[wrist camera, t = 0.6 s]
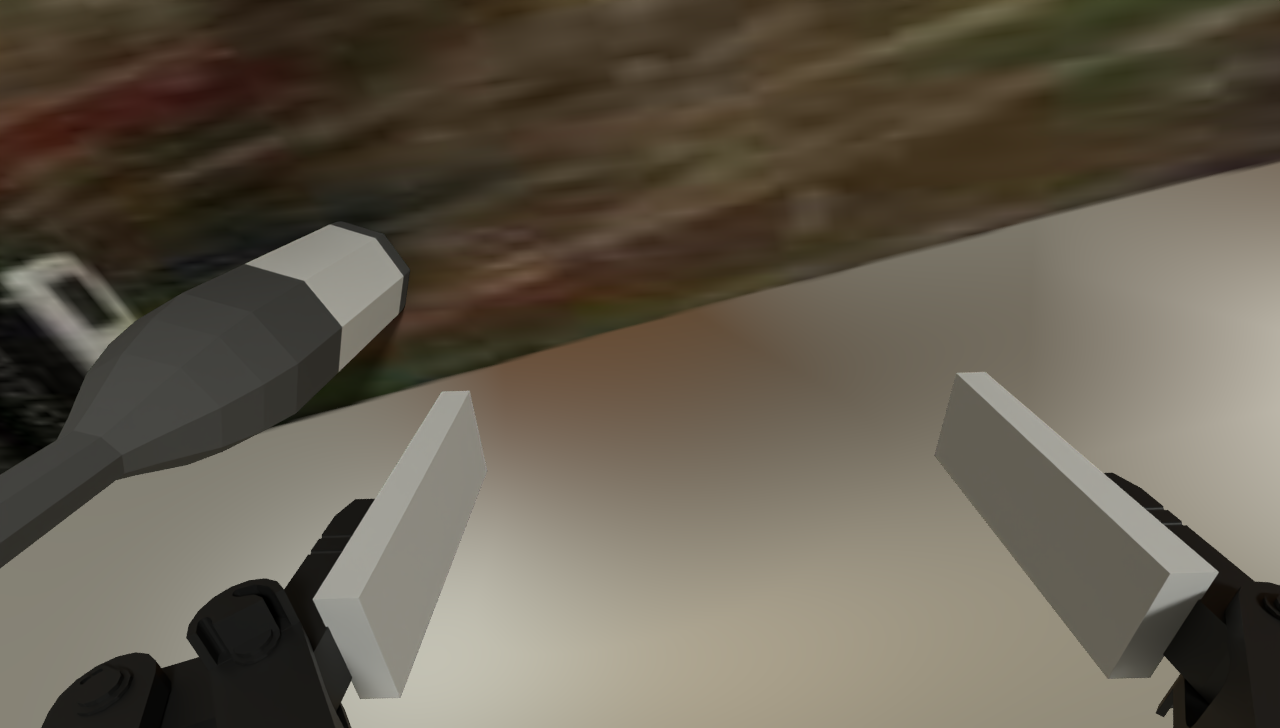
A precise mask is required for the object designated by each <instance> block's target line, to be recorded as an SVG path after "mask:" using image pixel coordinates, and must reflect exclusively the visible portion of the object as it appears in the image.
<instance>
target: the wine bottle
mask: <svg viewBox="0 0 1280 728" xmlns="http://www.w3.org/2000/svg"><path fill="white" fill-rule="evenodd" d="M409 273H410V269H409V268H408V266H407V265H406V264H405V262H404V261H403V259H402V258H401V257H400V255H399V254H398V253H397V251H396V250H395V248H394V247H393V246H392V244H391V243H390V242H389V240H388V239H387V237H386V236H385V235H384V234H382V233H379V232H376V231H372V230H369V229H366V228H363V227H359V226H356V225H353V224H349V223H346V222H343V221H339V222H335V223H332V224H330V225H328V226H326V227H323V228H321V229H319V230H317V231H315V232H313V233H311V234H308V235H306V236H304V237H302V238H300V239H298V240H295V241H293V242H291V243H289V244H287V245H285V246H282V247H280V248H278V249H276V250H274V251H272V252H270V253H267V254H265V255H263V256H261V257H259V258H257V259H254V260H252V261H250V262H248V263H246V264H244V265H241V266H239V267H237V268H235V269H233V270H231V271H229V272H226V273H224V274H222V275H220V276H218V277H216V278H213V279H211V280H209V281H207V282H205V283H203V284H200V285H198V286H196V287H194V288H192V289H190V290H187V291H185V292H183V293H181V294H180V295H178V296H176V297H175V298H173V299H171V300H170V301H168V302H166V303H165V304H163V305H161V306H160V307H158V308H156V309H155V310H153V311H151V312H150V313H148V314H146V315H145V316H143V317H141V318H140V319H138V320H136V321H135V322H134V323H133V324H132V325H130V326H129V327H128V328H127V329H126V330H125V331H124V332H123V333H121V334H120V335H119V336H118V337H117V338H116V339H115V340H114V341H112V342H111V343H110V344H109V345H108V347H107V348H106V349H105V351H104V352H103V353H102V354H101V356H100V357H99V358H98V360H97V361H96V362H95V364H94V365H93V366H92V368H91V369H90V370H89V371H88V373H87V374H86V376H85V379H84V381H83V383H82V386H81V388H80V391H79V393H78V395H77V398H76V400H75V403H74V405H73V407H72V410H71V412H70V414H69V417H68V419H67V421H66V423H65V425H64V427H63V429H62V431H61V433H60V435H59V437H58V439H57V440H56V441H54V442H53V443H51V444H49V445H48V446H46V447H45V448H43V449H41V450H40V451H38V452H36V453H35V454H33V455H32V456H30V457H28V458H27V459H25V460H23V461H22V462H20V463H19V464H17V465H15V466H14V467H12V468H10V469H9V470H7V471H6V472H4V473H2V474H1V475H0V568H1V567H3V566H4V565H5V564H6V563H8V562H9V561H10V560H12V559H13V558H14V557H16V556H17V555H18V554H20V553H21V552H22V551H23V550H25V549H26V548H28V547H29V546H30V545H31V544H33V543H34V542H35V541H37V540H38V539H39V538H41V537H42V536H43V535H45V534H46V533H47V532H48V531H50V530H51V529H52V528H54V527H55V526H56V525H58V524H59V523H60V522H62V521H63V520H64V519H66V518H67V517H68V516H69V515H71V514H72V513H73V512H75V511H76V510H77V509H79V508H80V507H81V506H83V505H84V504H85V503H87V502H88V501H89V500H90V499H92V498H93V497H94V496H95V495H97V494H98V493H99V492H101V491H102V490H104V489H105V488H106V487H108V486H109V485H110V484H111V483H113V482H114V481H115V480H118V479H122V478H126V477H130V476H134V475H139V474H144V473H149V472H154V471H159V470H164V469H169V468H174V467H179V466H183V465H188V464H191V463H194V462H196V461H199V460H202V459H204V458H207V457H209V456H212V455H215V454H217V453H220V452H223V451H225V450H227V449H229V448H231V447H232V446H235V445H236V444H239V443H241V442H243V441H244V440H247V439H248V438H250V437H252V436H254V435H256V434H258V433H260V432H262V431H264V430H266V429H268V428H270V427H272V426H274V425H275V424H277V423H279V422H281V421H283V420H285V419H286V418H288V417H290V416H292V415H294V414H296V413H297V412H298V411H299V410H300V409H301V408H302V407H303V406H304V405H305V404H306V403H307V402H308V401H309V400H310V399H311V398H312V397H313V396H314V395H315V394H316V393H317V392H319V391H320V390H321V389H322V388H323V387H324V386H325V385H326V384H327V383H328V382H329V381H330V380H331V379H332V378H333V377H334V376H335V375H336V374H337V373H338V372H339V371H340V370H341V369H342V368H343V367H344V366H345V365H346V364H347V363H348V362H350V361H351V360H352V359H353V358H354V357H355V356H356V355H357V354H358V353H359V352H360V351H361V350H362V349H363V348H364V347H365V346H366V345H367V344H368V343H369V342H370V341H371V340H372V339H373V338H374V337H375V336H376V335H377V334H378V333H379V332H381V331H382V330H383V329H384V328H385V327H386V326H387V325H388V324H389V323H390V322H391V321H392V320H393V319H394V318H395V317H396V316H397V315H398V314H399V313H400V312H401V311H402V310H403V308H404V306H405V303H406V295H407V288H408V281H409Z"/></svg>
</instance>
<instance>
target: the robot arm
mask: <svg viewBox="0 0 1280 728" xmlns="http://www.w3.org/2000/svg"><path fill="white" fill-rule="evenodd" d="M935 457H936V458H937V460H938V461H939V462H940V463H941V465H942V466H943V467H944V469H945V470H946V471H947V472H948V474H949V475H950V476H951V478H952V479H953V480H954V481H955V483H956V484H957V485H958V486H959V488H960V489H961V490H962V492H963V493H964V494H965V496H966V497H967V498H968V499H969V501H970V502H971V503H972V505H973V506H974V507H975V508H976V510H977V511H978V512H979V514H980V515H981V516H982V517H983V519H984V520H985V521H986V523H987V524H988V525H989V526H990V528H991V529H992V530H993V532H994V533H995V534H996V535H997V537H998V538H999V539H1000V540H1001V542H1002V543H1003V544H1004V546H1005V547H1006V548H1007V550H1008V551H1009V552H1010V553H1011V555H1012V556H1013V557H1014V558H1015V560H1016V561H1017V562H1018V564H1019V565H1020V566H1021V568H1022V569H1023V570H1024V571H1025V573H1026V574H1027V575H1028V577H1029V578H1030V579H1031V581H1032V582H1033V583H1034V584H1035V586H1036V587H1037V588H1038V589H1039V591H1040V592H1041V593H1042V595H1043V596H1044V597H1045V599H1046V600H1047V601H1048V602H1049V604H1050V605H1051V606H1052V608H1053V609H1054V610H1055V611H1056V613H1057V614H1058V615H1059V617H1060V618H1061V619H1062V620H1063V622H1064V623H1065V624H1066V626H1067V627H1068V628H1069V629H1070V631H1071V632H1072V633H1073V635H1074V636H1075V637H1076V638H1077V640H1078V641H1079V642H1080V644H1081V645H1082V646H1083V647H1084V649H1085V650H1086V651H1087V653H1088V654H1089V655H1090V656H1091V658H1092V659H1093V660H1094V662H1095V663H1096V664H1097V665H1098V667H1099V668H1100V669H1101V671H1102V672H1103V673H1104V674H1105V676H1106V677H1107V678H1108V679H1115V678H1149V677H1151V675H1152V674H1153V672H1154V671H1155V669H1156V668H1157V666H1158V665H1159V663H1160V662H1161V660H1162V659H1163V657H1164V656H1165V657H1166V658H1167V659H1168V660H1169V661H1170V662H1171V664H1173V666H1174V667H1175V668H1176V669H1177V670H1178V671H1179V672H1180V675H1179V677H1178V678H1177V680H1176V681H1175V682H1174V684H1173V686H1172V687H1171V688H1170V690H1169V691H1168V693H1167V694H1166V696H1165V697H1164V698H1163V700H1162V701H1161V703H1160V704H1159V706H1158V709H1157V711H1156V714H1159V715H1160V716H1163V717H1164V716H1165V715H1166V713H1167V712H1168V710H1169V709H1170V708H1173V725H1174V726H1173V728H1280V585H1276V584H1273V583H1268V582H1255V581H1253V580H1252V579H1251V578H1250V577H1249V576H1247V575H1246V574H1245V573H1243V572H1242V571H1241V570H1240V569H1239V568H1238V567H1236V566H1235V565H1234V564H1233V563H1232V562H1230V561H1229V560H1228V559H1227V558H1225V557H1224V556H1223V555H1222V554H1221V553H1219V552H1218V551H1217V550H1216V549H1214V548H1213V547H1212V546H1211V545H1210V544H1208V543H1207V542H1206V541H1205V540H1203V539H1202V538H1201V537H1200V536H1199V535H1197V534H1196V533H1195V532H1194V531H1192V530H1191V529H1190V528H1189V527H1188V526H1187V525H1186V526H1183V525H1182V522H1181V521H1180V520H1179V519H1178V518H1177V517H1176V516H1174V515H1173V514H1172V513H1171V512H1170V511H1168V510H1164V509H1163V506H1162V505H1161V504H1160V503H1158V502H1157V501H1156V500H1155V499H1154V498H1152V497H1151V496H1150V495H1149V494H1147V493H1146V492H1145V491H1144V490H1143V489H1142V488H1140V487H1138V486H1136V485H1134V484H1132V483H1131V482H1129V481H1127V480H1125V479H1123V478H1121V477H1119V476H1117V475H1116V474H1114V473H1103V472H1101V471H1100V470H1099V469H1098V468H1097V467H1096V466H1094V465H1093V464H1092V463H1091V462H1090V461H1089V460H1087V459H1086V458H1085V457H1084V456H1083V455H1082V454H1080V453H1079V452H1078V451H1077V450H1076V449H1075V448H1073V447H1072V446H1071V445H1070V444H1069V443H1067V442H1066V441H1065V440H1064V439H1063V438H1062V437H1060V436H1059V435H1058V434H1057V433H1056V432H1055V431H1054V430H1052V429H1051V428H1050V427H1049V426H1048V425H1047V424H1045V423H1044V422H1043V421H1042V420H1041V419H1040V418H1038V417H1037V416H1036V415H1035V414H1033V413H1032V412H1031V411H1030V410H1029V409H1028V408H1027V407H1026V406H1024V405H1023V404H1022V403H1021V402H1020V401H1019V400H1017V399H1016V398H1015V397H1014V396H1013V395H1012V394H1010V393H1009V392H1008V391H1007V390H1006V389H1005V388H1003V387H1002V386H1001V385H1000V384H999V383H997V382H996V381H995V380H994V379H993V378H992V377H990V376H989V375H988V374H987V373H986V372H970V373H956V377H955V380H954V384H953V388H952V391H951V395H950V399H949V403H948V406H947V410H946V414H945V418H944V422H943V425H942V429H941V433H940V437H939V440H938V444H937V448H936V452H935ZM486 472H487V468H486V463H485V459H484V454H483V450H482V445H481V440H480V436H479V431H478V427H477V422H476V418H475V413H474V408H473V404H472V400H471V395H470V391H452V392H441V394H440V396H439V397H438V399H437V400H436V402H435V403H434V405H433V407H432V409H431V410H430V412H429V413H428V415H427V416H426V418H425V420H424V421H423V423H422V424H421V426H420V428H419V429H418V431H417V432H416V434H415V436H414V437H413V439H412V440H411V442H410V444H409V445H408V447H407V448H406V450H405V452H404V454H403V455H402V457H401V458H400V460H399V461H398V463H397V465H396V466H395V468H394V469H393V471H392V473H391V474H390V476H389V477H388V479H387V481H386V482H385V484H384V485H383V487H382V489H381V490H380V492H379V494H378V495H377V497H376V498H375V499H355V500H354V501H353V502H352V503H350V504H349V505H348V506H347V507H345V508H344V509H343V510H342V511H341V512H339V513H338V514H337V515H336V516H335V517H334V518H333V520H332V521H331V523H330V524H329V525H328V527H327V528H326V530H325V531H324V533H323V534H322V538H321V539H319V540H318V541H317V543H316V544H315V546H314V547H313V549H312V550H311V554H310V555H308V556H307V557H306V559H305V560H304V562H303V563H302V565H301V566H300V567H299V569H298V571H297V572H296V573H295V575H294V576H293V578H292V579H291V581H290V582H289V583H288V585H287V586H286V588H285V589H283V588H282V587H281V586H280V585H279V583H278V582H277V581H273V580H269V579H256V580H249V581H246V582H243V583H241V584H238V585H235V586H232V587H231V588H229V589H227V590H225V591H224V592H222V593H220V594H219V595H217V596H215V597H214V598H212V599H211V600H210V601H209V602H208V603H207V604H206V605H204V606H203V607H202V608H201V609H200V610H199V611H198V612H197V614H196V615H195V617H194V619H193V620H192V621H191V623H190V624H189V627H188V632H187V637H186V638H187V639H188V641H189V642H190V644H191V645H192V646H193V648H194V650H195V651H196V653H197V654H198V656H199V657H198V658H194V659H191V660H188V661H185V662H181V663H178V664H175V665H171V666H168V667H164V668H161V667H160V666H159V665H158V663H157V662H156V661H155V660H154V659H153V658H152V657H151V656H150V655H149V654H144V653H131V654H127V655H123V656H118V657H115V658H114V659H111V660H109V661H107V662H105V663H103V664H100V665H98V666H96V667H95V668H93V669H92V670H90V671H89V672H87V673H86V674H84V675H83V676H82V677H80V678H79V679H77V680H76V681H75V682H74V683H73V684H72V685H71V686H69V688H67V689H66V690H65V691H64V692H63V693H62V694H61V695H60V696H59V697H58V699H57V701H56V702H55V703H54V705H53V706H52V708H51V709H50V711H49V713H48V714H47V717H46V719H45V721H44V723H43V725H42V728H351V726H350V723H349V720H348V718H347V715H346V712H345V709H344V707H343V706H342V704H341V701H342V699H343V697H344V694H345V692H346V690H347V688H348V686H349V684H350V682H351V681H352V683H353V685H354V687H355V689H356V691H357V693H358V695H359V698H360V699H370V698H400V697H401V695H402V692H403V689H404V687H405V684H406V682H407V679H408V676H409V673H410V671H411V668H412V666H413V663H414V661H415V658H416V655H417V653H418V650H419V648H420V645H421V642H422V640H423V637H424V635H425V632H426V629H427V626H428V624H429V621H430V619H431V616H432V614H433V611H434V608H435V606H436V603H437V601H438V598H439V595H440V593H441V590H442V587H443V585H444V582H445V580H446V577H447V574H448V572H449V569H450V567H451V564H452V561H453V559H454V556H455V553H456V551H457V548H458V545H459V543H460V541H461V538H462V535H463V533H464V530H465V527H466V525H467V522H468V520H469V517H470V514H471V512H472V509H473V507H474V504H475V501H476V499H477V496H478V494H479V491H480V488H481V486H482V483H483V480H484V478H485V475H486Z"/></svg>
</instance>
